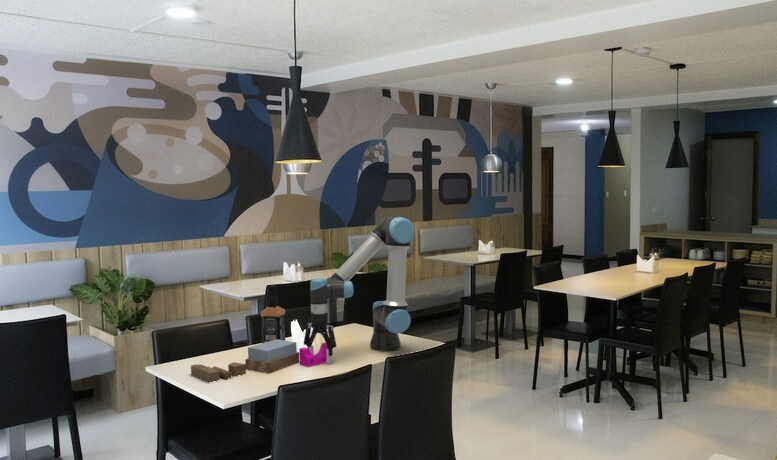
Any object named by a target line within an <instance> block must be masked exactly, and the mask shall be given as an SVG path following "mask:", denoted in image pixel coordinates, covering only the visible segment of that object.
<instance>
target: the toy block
mask: <svg viewBox="0 0 777 460" xmlns="http://www.w3.org/2000/svg"><path fill="white" fill-rule="evenodd" d="M327 349H328V347H327V345H326V342H321V346H320V348H319V350H318V352H317V353H316V354H315V353H314V355H312V354H311V353H310V349H308V348H307V347H301V348H299V351H298V353H299V365H300V366H304V367H307V368H311V367H314V366H319V365H322V364H325V363H326V364H327Z"/></svg>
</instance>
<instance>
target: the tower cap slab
mask: <svg viewBox="0 0 777 460" xmlns="http://www.w3.org/2000/svg"><path fill="white" fill-rule="evenodd" d="M297 352H298V351H297V342H296V341H295V342H294V341H291V340H290V341H289V340H286V339H285V340H279V339H277V340H273V341H269V342H266V343H262V342H261V343H258V344H256V345H252V346H249V347H247V359H253V360H258V361H263V362H271V361H274V360H277V359H280V358H283V357H287V356H290V355H293V354H296V353H297Z"/></svg>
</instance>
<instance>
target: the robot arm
mask: <svg viewBox="0 0 777 460" xmlns="http://www.w3.org/2000/svg"><path fill="white" fill-rule="evenodd" d="M414 235H415V227H414V225H413V223H412V222H411V221H410V220H409V219H408V218H405V217H403V216H402V217H401V216H388V217H386V218H384V219H383V220H382V221H381V222H380V223H379V224H378V225H377V226H376V227H375V228H374V229H373V230H372V231H371V232H370V235H369V237H368V238H367V239H366V240H365V241H364V242H363V243H362V244H361V245H360V247H358V248H357V249H356V250H355V251H354V253H353V254H352V255H351V256H350V257H348V258H347V260H346V261H345V262H344V263H343V264H342V265H341V266H340V267H339V268H338V269H337V270H336V271H335V272H334V273H333V274H332V275H331V276H330V277H326V278H324V277H317V278H312V279H311V280H310V284H309V285H310V286H309V287H310V288H309V290H310V312H311V313H310V321H311V323H310V322H309V323H305V334H304V338H303V345H304V346H306V348H308V349H310V353H311V354H312V355H315V353H314V352H315V351H314V345H313V344H314V342H315V341H314V340H315V338H316V336H317V334H320V335H321V336H322V337H323V340H324V343H326V345H327V347H328V349H327V360H326V364H331V363H332V362H333V361H332V356H333V354H334V353H333V351H334V349H335V348H336V347H337V342H336V336H335V332H334V329H335V328H334V325H329V324H328V320H329V316H328V312H329V311H328V309H329V308H328V300H331V299H332V300H333V299H348V298H351V297H353V295H354V285H353V282H352V281H350V280H351V279H352V278H353V277H354V276H355V275H356V274H357V273H358V272H359V271H360V270H361V269H362V268H363V267H364V266H365V265H366V264H367V263H368V261H370V260H371V259H372V258H373V256H375V254H377V252H378V251H379V250H380V249H381V248H382V247H383V248H384V247H386V248H387V249H388V261H387V282H386V283H387V284H386V300H382V301H379V300H378V301H375V302H373V305H372V324H373V325H372V326H373V327H372V328H373V329H372V330H373V333H372V335H371V339H370V342H369V344H370V345H369V347H370V349H371V350H373V351H378V350H392V351H396V350H395V349H397V350H399V349H401V348H400V347H402V344H401V339H400V336H399V334H402V333H404V332H406V331H407V330H408V329H409V327H410V325H411V322H412V321H411V319H412V318H411V316H410V314H409V312H408V307H409V304H408V303H407V301H406V300H405V299H406V281H407V280H406V278H407V259H408V257H407V256H408V255H407V254H408V249H409V248H411V244H412V243H411V242H412V240H413V238H414ZM398 348H399V349H398Z"/></svg>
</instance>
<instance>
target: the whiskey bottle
mask: <svg viewBox="0 0 777 460" xmlns="http://www.w3.org/2000/svg"><path fill="white" fill-rule="evenodd" d="M267 290H268V298H267V304H268V306H267V307H265V308H264V309H263V310H261V311H260V316H261V344H262V343H266V342H269V341H273V340H277V339H279V340H285V341H286V323H285V321H286V320H285V314H286V309H285V308H283V307H281V306H279V305H278V301H279V300H278V296H277V286H276V285H273V284H272V285H268V289H267Z"/></svg>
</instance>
